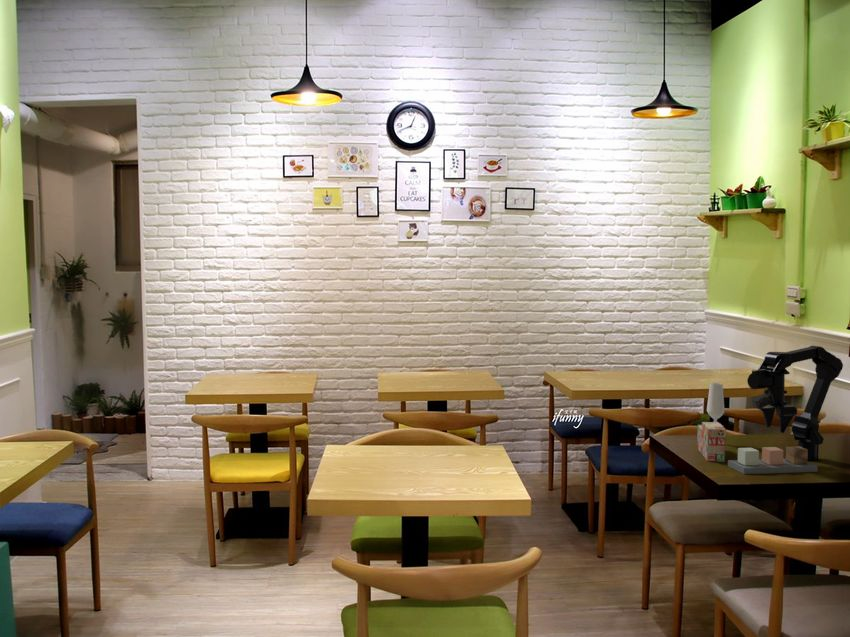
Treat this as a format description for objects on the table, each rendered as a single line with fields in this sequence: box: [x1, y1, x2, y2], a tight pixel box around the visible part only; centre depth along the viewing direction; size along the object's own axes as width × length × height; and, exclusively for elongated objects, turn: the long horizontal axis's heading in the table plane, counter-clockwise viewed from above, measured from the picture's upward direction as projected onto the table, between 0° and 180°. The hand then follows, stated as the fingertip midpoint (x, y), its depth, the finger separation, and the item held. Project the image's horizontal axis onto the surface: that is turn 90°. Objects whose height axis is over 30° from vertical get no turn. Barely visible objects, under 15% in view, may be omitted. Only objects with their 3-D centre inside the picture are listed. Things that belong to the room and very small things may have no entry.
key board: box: [727, 458, 819, 475], centre depth 275 cm, size 27×11×2 cm, turn 96°
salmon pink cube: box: [761, 446, 784, 465], centre depth 274 cm, size 5×5×5 cm
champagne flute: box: [706, 382, 726, 422], centre depth 313 cm, size 7×7×24 cm
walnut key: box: [785, 445, 808, 464], centre depth 275 cm, size 5×5×5 cm
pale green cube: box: [737, 447, 760, 466], centre depth 273 cm, size 5×5×5 cm
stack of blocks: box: [696, 421, 727, 463], centre depth 295 cm, size 21×6×12 cm, turn 171°
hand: (775, 429), depth 283 cm, fingers open, 9 cm apart
